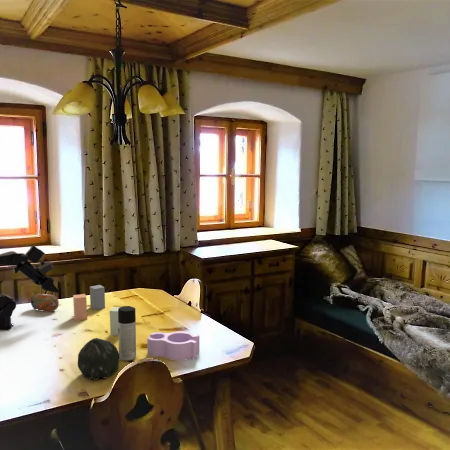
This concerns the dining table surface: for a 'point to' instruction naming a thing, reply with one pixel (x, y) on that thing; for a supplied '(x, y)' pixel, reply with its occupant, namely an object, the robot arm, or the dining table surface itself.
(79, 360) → the squash
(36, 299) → the tin
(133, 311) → the spray can
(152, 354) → the clip
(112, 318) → the pale grey tall block
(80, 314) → the salmon pink pillar
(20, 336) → the dining table surface
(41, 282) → the robot arm
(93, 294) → the tall grey pillar
